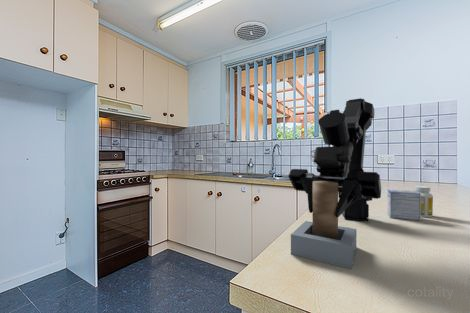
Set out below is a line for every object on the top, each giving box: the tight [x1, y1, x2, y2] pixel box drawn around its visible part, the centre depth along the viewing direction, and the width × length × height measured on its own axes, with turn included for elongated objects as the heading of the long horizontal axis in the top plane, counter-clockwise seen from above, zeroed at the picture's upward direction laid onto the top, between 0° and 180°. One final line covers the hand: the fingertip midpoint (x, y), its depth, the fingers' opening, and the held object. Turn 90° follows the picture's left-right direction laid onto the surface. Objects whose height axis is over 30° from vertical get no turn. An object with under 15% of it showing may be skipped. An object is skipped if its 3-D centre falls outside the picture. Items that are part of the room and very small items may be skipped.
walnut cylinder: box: [312, 181, 339, 240], centre depth 47 cm, size 5×5×13 cm
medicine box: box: [387, 189, 422, 221], centre depth 71 cm, size 8×4×9 cm, turn 65°
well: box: [290, 220, 357, 270], centre depth 47 cm, size 11×11×4 cm
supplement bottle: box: [414, 185, 434, 218], centre depth 74 cm, size 5×5×10 cm
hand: (323, 213), depth 46 cm, fingers closed on walnut cylinder, 5 cm apart
